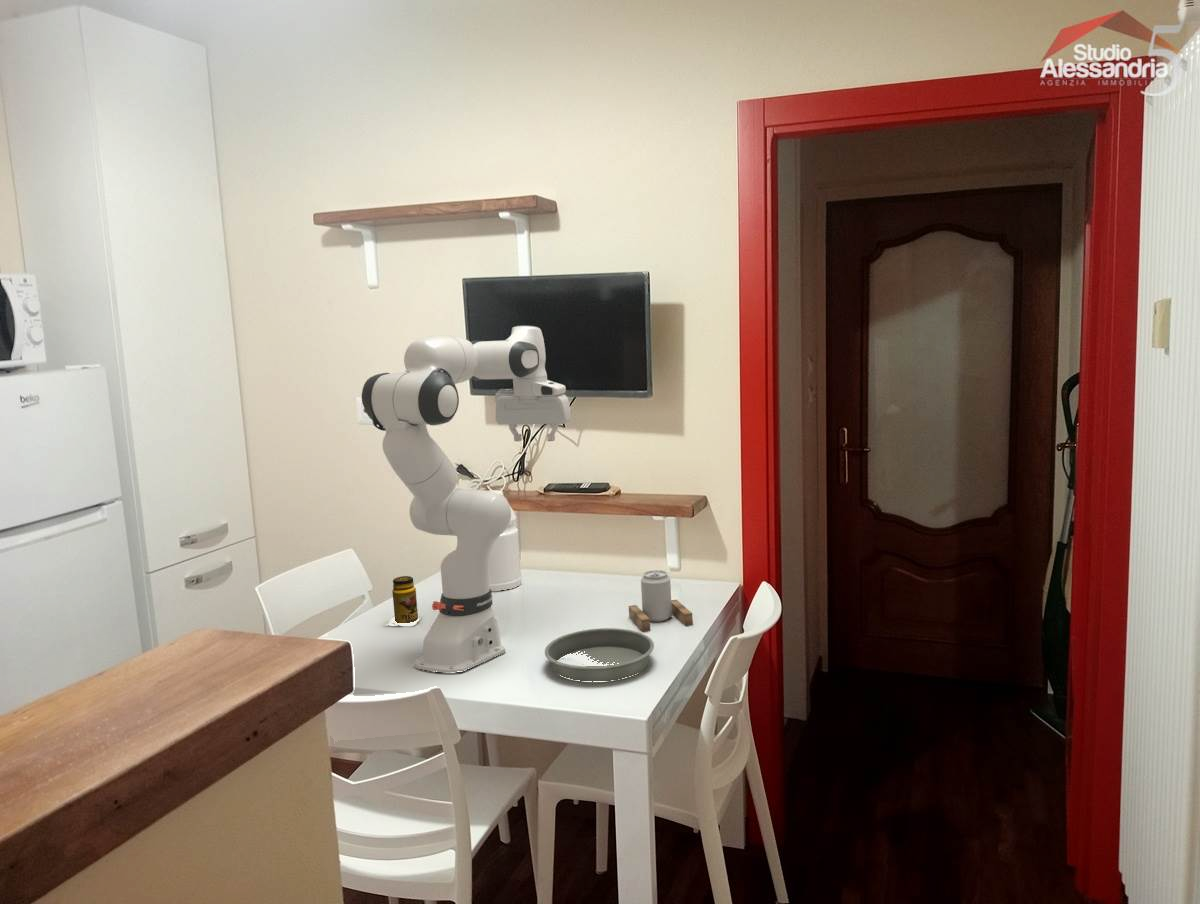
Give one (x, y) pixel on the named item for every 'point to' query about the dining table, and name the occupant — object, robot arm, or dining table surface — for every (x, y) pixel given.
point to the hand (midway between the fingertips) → (534, 441)
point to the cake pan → (601, 653)
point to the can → (656, 595)
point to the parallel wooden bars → (644, 621)
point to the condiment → (404, 600)
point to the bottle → (505, 558)
